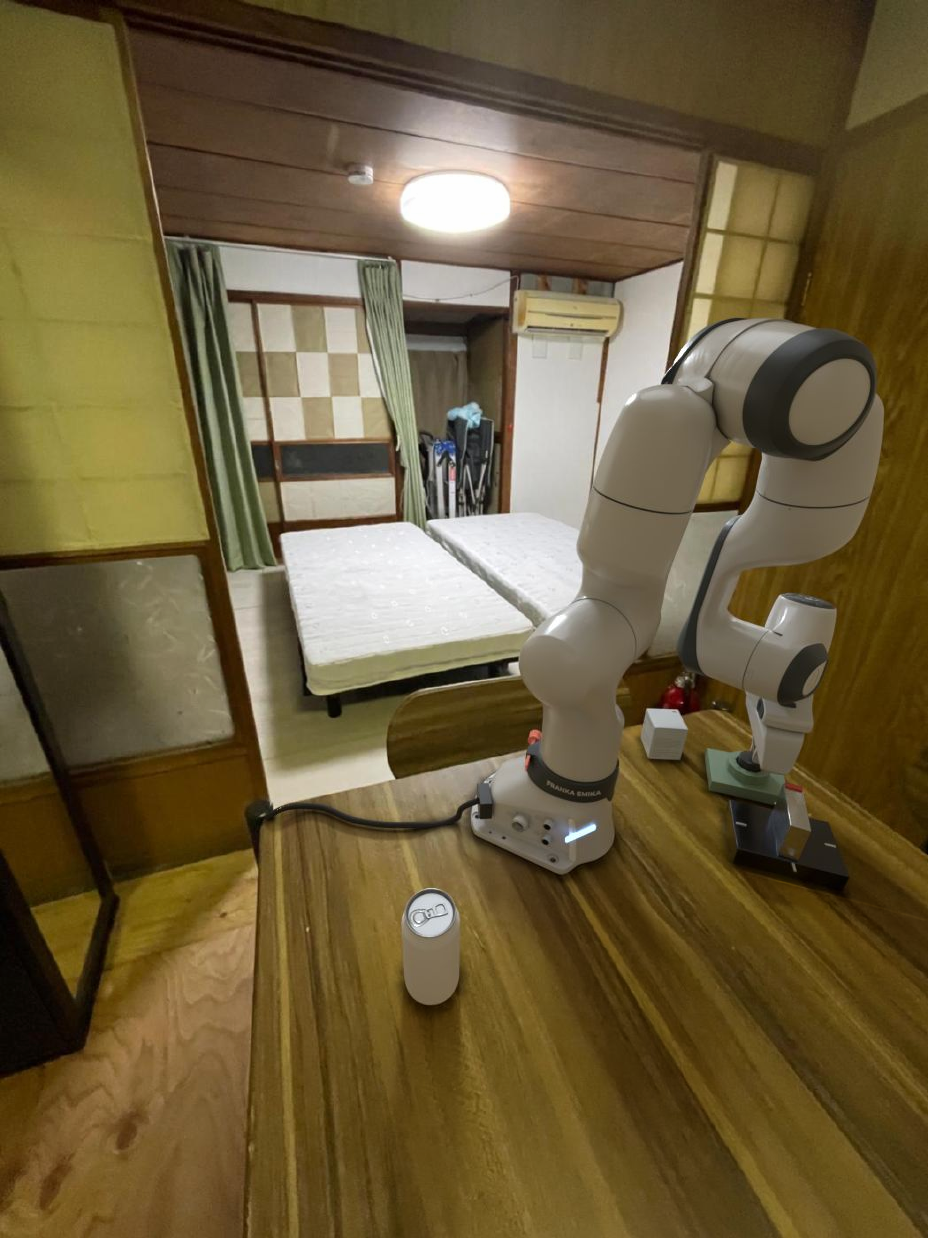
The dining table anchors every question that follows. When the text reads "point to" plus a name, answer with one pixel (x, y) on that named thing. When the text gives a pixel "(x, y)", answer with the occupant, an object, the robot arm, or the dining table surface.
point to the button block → (740, 778)
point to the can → (431, 946)
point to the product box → (663, 734)
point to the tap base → (759, 849)
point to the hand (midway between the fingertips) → (756, 758)
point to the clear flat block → (791, 821)
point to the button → (747, 762)
